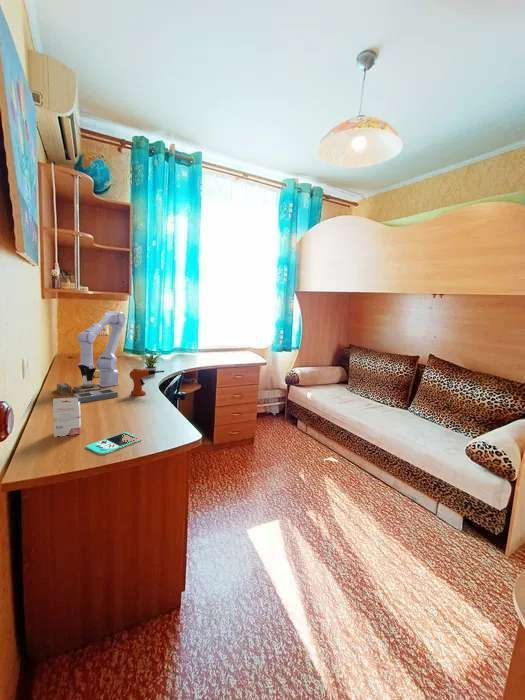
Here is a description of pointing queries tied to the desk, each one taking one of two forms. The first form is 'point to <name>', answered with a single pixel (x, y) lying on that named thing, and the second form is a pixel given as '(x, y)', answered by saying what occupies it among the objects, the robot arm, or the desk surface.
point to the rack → (96, 395)
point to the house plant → (150, 363)
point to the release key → (63, 385)
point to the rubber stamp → (97, 373)
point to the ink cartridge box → (66, 417)
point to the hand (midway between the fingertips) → (87, 379)
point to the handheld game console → (110, 443)
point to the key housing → (64, 389)
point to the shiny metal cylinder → (86, 383)
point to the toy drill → (140, 380)
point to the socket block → (80, 389)
